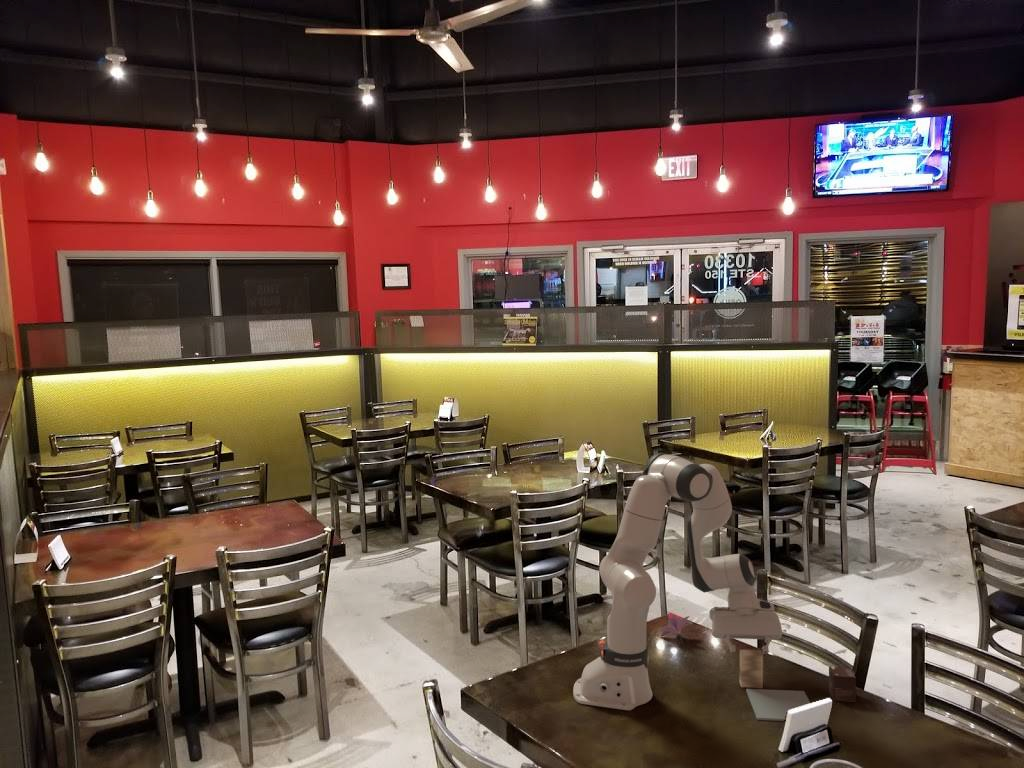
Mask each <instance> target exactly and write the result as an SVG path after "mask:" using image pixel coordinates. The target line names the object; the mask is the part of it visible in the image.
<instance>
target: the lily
mask: <svg viewBox="0 0 1024 768" xmlns="http://www.w3.org/2000/svg"><path fill="white" fill-rule="evenodd" d="M689 618H690V615H688V616H685V617H683V618H681V619H680V618H678V617H677V616H676V615H670V617H669V618H668V620H667V621H668V622H667V625H664V626H663V627H661V628H659V629H658V630H659V631H662V632H661V634H660V636H659V638H662V637H661V636H663V637H665V636H666V635H668V634H671V633H673V634H675V636H679V638H680V642H681V644H683V645H684V643H683V640H682V636H681V632H682V629H683V628H684V627H686V626H688V625H692V624H693V623H694V622H693V621H691V620H688V619H689ZM678 634H679V635H678Z"/></svg>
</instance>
